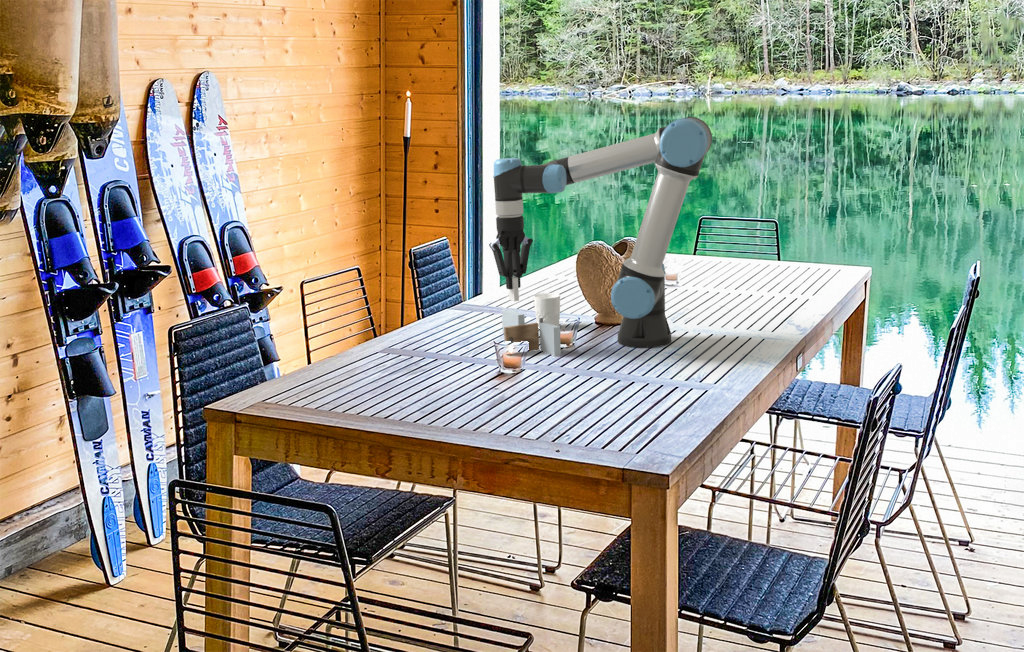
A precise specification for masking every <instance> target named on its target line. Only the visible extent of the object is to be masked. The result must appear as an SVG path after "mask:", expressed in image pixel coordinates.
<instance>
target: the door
mask: <svg viewBox="0 0 1024 652" xmlns="http://www.w3.org/2000/svg"><path fill="white" fill-rule="evenodd" d="M503 337H504V342H505V341H511V342H521V341H528V342H529V351H528V352H533V351H539V350H540V330H539V328H538V323H536V322H531V323H525V324H524V325H517V326H510V327H504V336H503Z"/></svg>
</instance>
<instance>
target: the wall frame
mask: <svg viewBox="0 0 1024 652" xmlns="http://www.w3.org/2000/svg"><path fill="white" fill-rule="evenodd" d="M501 322H502V334H503V333H504V327H510V326H517V325H524V324H526V322H525V313H521V312H519V311H516V310H512V309H510V308H503V309H501ZM539 324H540V330H539V350H540V349H541V350H540V352H542V351H543V353H545V352H546V353H545V354H547V353H548V354H547V355H550V354H551V355H550V356H552V355H553V356H552V357H559V356H558V355H560V356H561V355H562V353H561V352H562V351H561V350H562V349H561V348H562V347H561V343H562V342H561V326H560V325H559V326H556V325H553V324H551V323H548V322H543V318H539Z"/></svg>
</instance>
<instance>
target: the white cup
mask: <svg viewBox="0 0 1024 652" xmlns="http://www.w3.org/2000/svg"><path fill="white" fill-rule="evenodd" d="M533 300H534V304H533V305H534V313H535V320H536V322H535V323H538V327H539V328H540V324H539V318H543V322H548V323H551V324H553V325H556V326H559V327H560V319H561V318H560V316H561V313H560V312H561V294H559V293H555V292H554V293H552V292H546V293H545V292H543V293H537V294H534V296H533Z"/></svg>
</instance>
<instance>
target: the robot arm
mask: <svg viewBox="0 0 1024 652" xmlns="http://www.w3.org/2000/svg"><path fill="white" fill-rule="evenodd" d="M712 144H713V134H712V130H711V128H710V127H709V125H708V123H706V122H705V121H703V119H700V118H698V117H695V116H686V117H683V118H677V119H675V120H673V121H672V122H671V123H669V124H668V125H666V126H663V127H659V128H658V129H657V130H656V132H654V133H650V134H648V135H644V136H639V137H637V138H633V139H630V140H626V141H622V142H618V143H614V144H611V145H607V146H602V147H600V148H596V149H595V148H594V149H592V150H589V151H584V152H581V153H577V154H574V155H569V156H567V157H563V158H557V159H554V160H550V161H549V162H546V163H543V164H534V165H524V164H522V161H521V159H520V158H517V157H507V158H498V159H495V161H493V176H492V177H493V183H494V187H493V188H494V200H495V204H494V205H495V215H496V218H495V221H496V222H495V223H496V232H497V234H496V239H495V240H494V241H493V242H490V243H488V244H489V245H488V246H489V247H490V250H491V251H492V253H493V257H494V260H495V264H496V268H497V271H498V275H499V276H500V277H504V278H505V286H506V289H507V290H508V299H509V301H512V302H519V301H520V291H519V290H520V288H521V285H522V284H521V278H522V277H523V275H525V274H526V273H527V270H528V264H529V257H530V249H531V246H532V244H533V242H534V241H533V239H532V238H530V237H527V236H526V234H525V231H524V228H525V220H524V218H525V217H524V215H523V214H524V202H523V194H555V193H562V192H565V190H566V188H567V187H566V186H569V185H573V184H576V183H580V182H584V181H588V180H591V179H597V178H600V177H604V176H608V175H611V174H615V173H620V172H623V171H627V170H630V169H634V168H639V167H642V166H647V165H650V164H654V166H655V167H656V169H657V175H656V178H655V180H654V184H653V186H652V190H651V193H650V196H649V198H648V199H649V200H648V202H647V205H646V209H645V212H644V215H643V218H642V220H641V224H640V227H639V230H638V234H637V236H636V239H635V243H634V246H633V248H632V252H631V256H630V257H629V258H626V259H624V260H623V261H622V265H621V268H620V271H619V273H618V277H617V280H616V282H615V283H614V284H613V285H612V288H611V292H610V293H611V294H610V301H611V304H612V306H613V308H614V310H615V311H616V312H617V313H618V314H619V315H621V316H622V320H621V322H620V325H619V326H620V327H619V330H618V332H617V343H618V344H619V345H621V346H625V347H630V348H642V349H643V348H645V349H646V348H656V347H663V346H667V345H669V344H671V343H672V331H671V329H670V325H669V323H668V319H667V317H666V288H665V287H666V284H665V282H666V279H665V278H666V277H665V276H666V271H665V270H666V268H665V264H664V260H665V258H666V255H667V251H668V249H669V245H670V243H671V240H672V238H673V237H672V236H673V233H674V230H675V227H676V225H677V222H678V218H679V215H680V212H681V209H682V206H683V203H684V200H685V197H686V194H687V191H688V189H689V185H690V184H691V183H690V182H691V181H693V180H694V179H697V178H698V177H699V174H700V171H701V169H702V165H703V162H704V160H705V156H706V155H707V153H708V152H710V151H709V150H710V149H711V146H712ZM501 248H502V250H501ZM502 253H503V254H502Z"/></svg>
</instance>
